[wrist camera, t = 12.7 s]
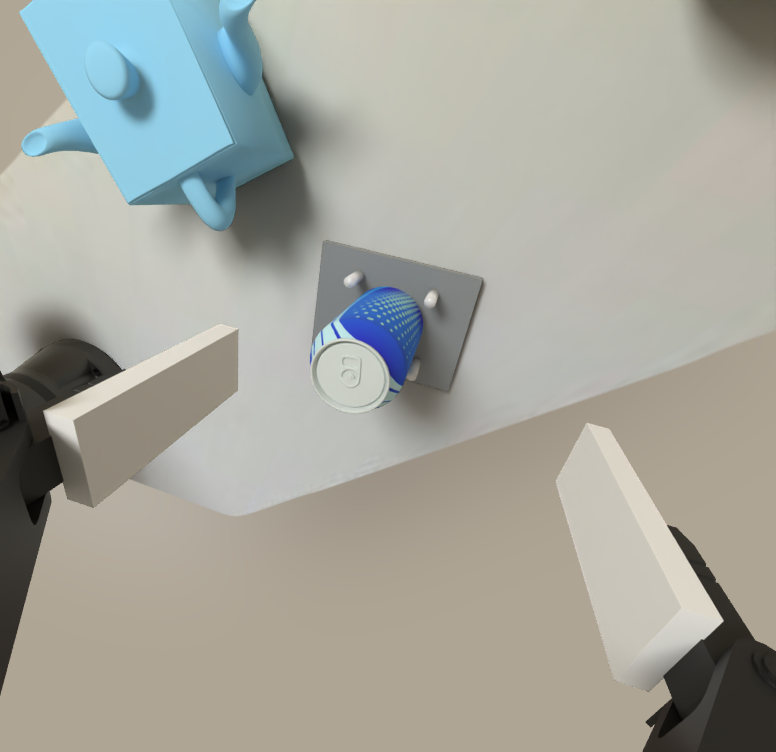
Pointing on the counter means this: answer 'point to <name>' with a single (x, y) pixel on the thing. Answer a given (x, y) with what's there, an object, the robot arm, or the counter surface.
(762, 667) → the robot arm
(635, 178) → the counter surface
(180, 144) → the teakettle
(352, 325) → the beer can
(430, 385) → the pegboard
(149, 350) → the counter surface
